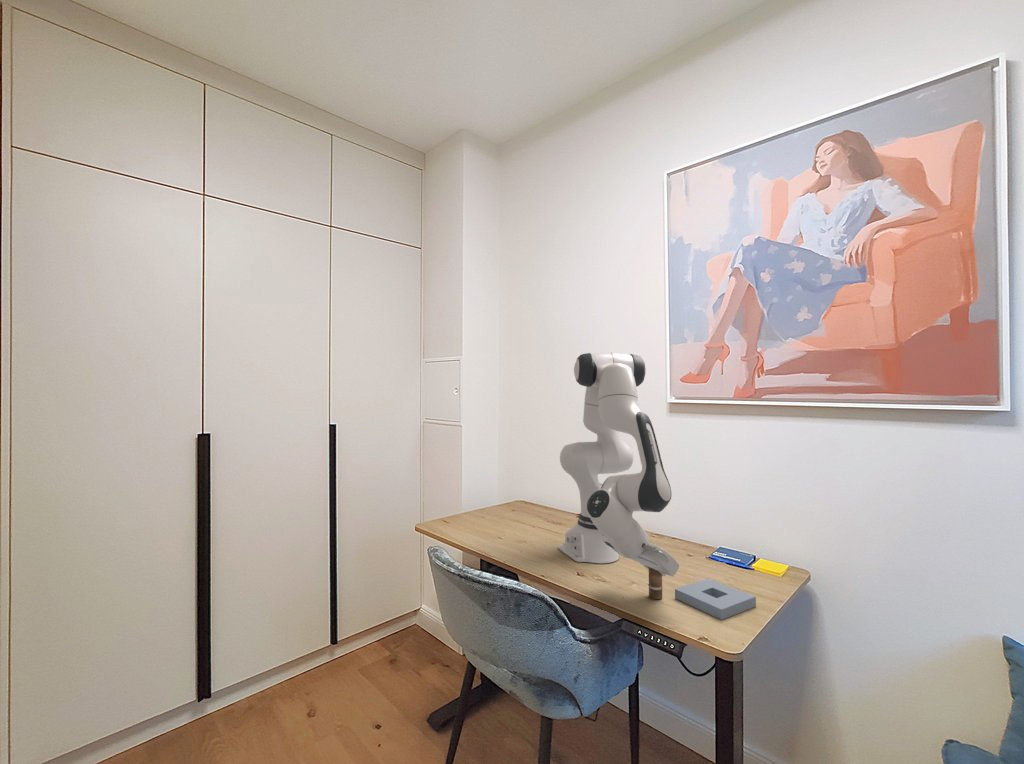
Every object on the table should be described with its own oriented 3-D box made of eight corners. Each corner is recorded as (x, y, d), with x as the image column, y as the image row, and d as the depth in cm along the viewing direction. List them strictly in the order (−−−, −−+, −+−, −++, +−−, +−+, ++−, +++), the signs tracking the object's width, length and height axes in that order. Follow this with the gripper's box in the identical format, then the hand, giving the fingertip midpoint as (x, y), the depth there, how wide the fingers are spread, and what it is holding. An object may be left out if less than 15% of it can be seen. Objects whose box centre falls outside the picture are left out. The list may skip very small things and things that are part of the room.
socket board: (675, 598, 124) (674, 588, 124) (708, 587, 131) (708, 578, 132) (721, 619, 112) (721, 609, 112) (755, 606, 119) (755, 596, 119)
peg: (645, 595, 126) (645, 550, 126) (655, 592, 128) (654, 548, 128) (656, 600, 123) (655, 554, 123) (665, 597, 124) (664, 552, 125)
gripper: (667, 540, 113) (694, 573, 118) (610, 520, 131) (635, 549, 135) (654, 562, 111) (682, 594, 115) (598, 539, 128) (624, 568, 133)
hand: (656, 570), depth 126 cm, fingers closed on peg, 3 cm apart
